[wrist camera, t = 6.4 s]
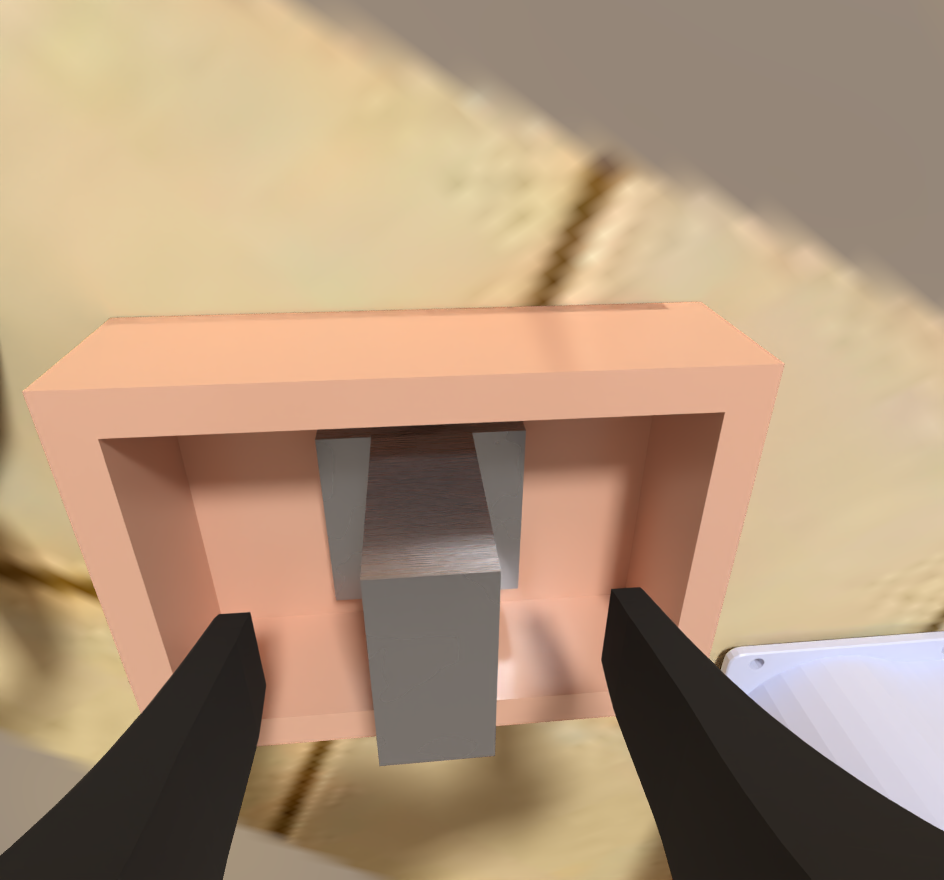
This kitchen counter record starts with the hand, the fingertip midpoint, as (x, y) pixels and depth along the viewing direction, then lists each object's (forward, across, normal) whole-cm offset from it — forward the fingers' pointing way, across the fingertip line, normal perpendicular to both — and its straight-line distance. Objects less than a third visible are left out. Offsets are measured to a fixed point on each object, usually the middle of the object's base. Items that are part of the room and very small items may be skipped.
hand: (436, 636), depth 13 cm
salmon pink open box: (+6, 0, 0) cm, 6 cm away
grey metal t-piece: (+5, 0, 0) cm, 5 cm away
